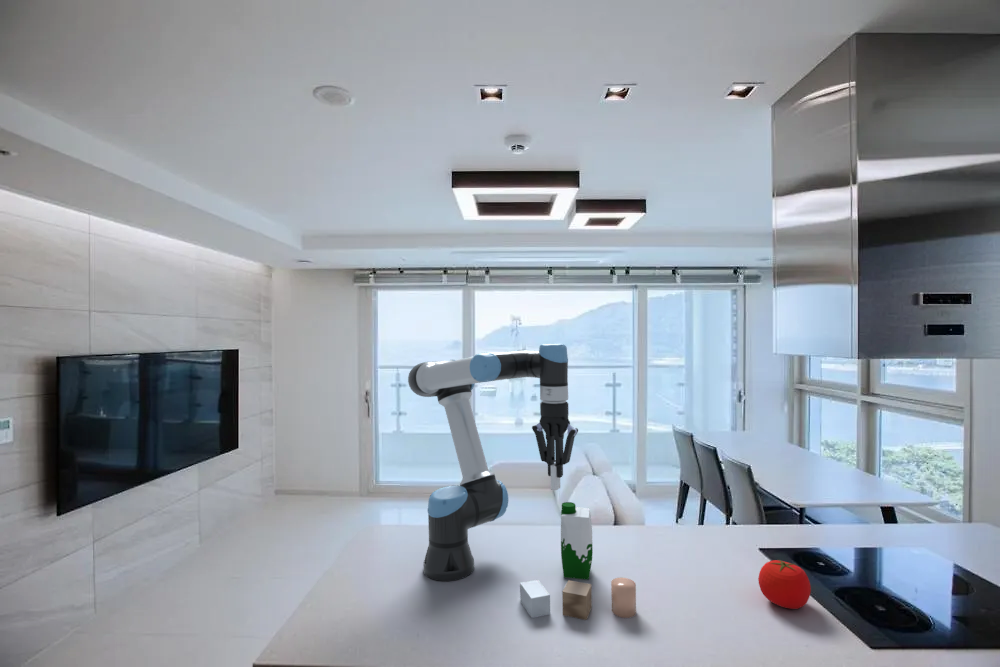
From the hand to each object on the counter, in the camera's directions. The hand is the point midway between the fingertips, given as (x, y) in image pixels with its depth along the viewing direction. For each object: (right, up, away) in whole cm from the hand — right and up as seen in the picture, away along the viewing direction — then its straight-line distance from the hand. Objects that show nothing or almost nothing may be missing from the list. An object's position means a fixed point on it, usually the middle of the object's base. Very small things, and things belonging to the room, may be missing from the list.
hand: (555, 488), depth 134 cm
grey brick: (-6, -29, -6) cm, 30 cm away
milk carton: (+7, -28, +11) cm, 31 cm away
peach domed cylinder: (+16, -28, -9) cm, 34 cm away
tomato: (+58, -28, -7) cm, 64 cm away
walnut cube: (+5, -29, -8) cm, 30 cm away
